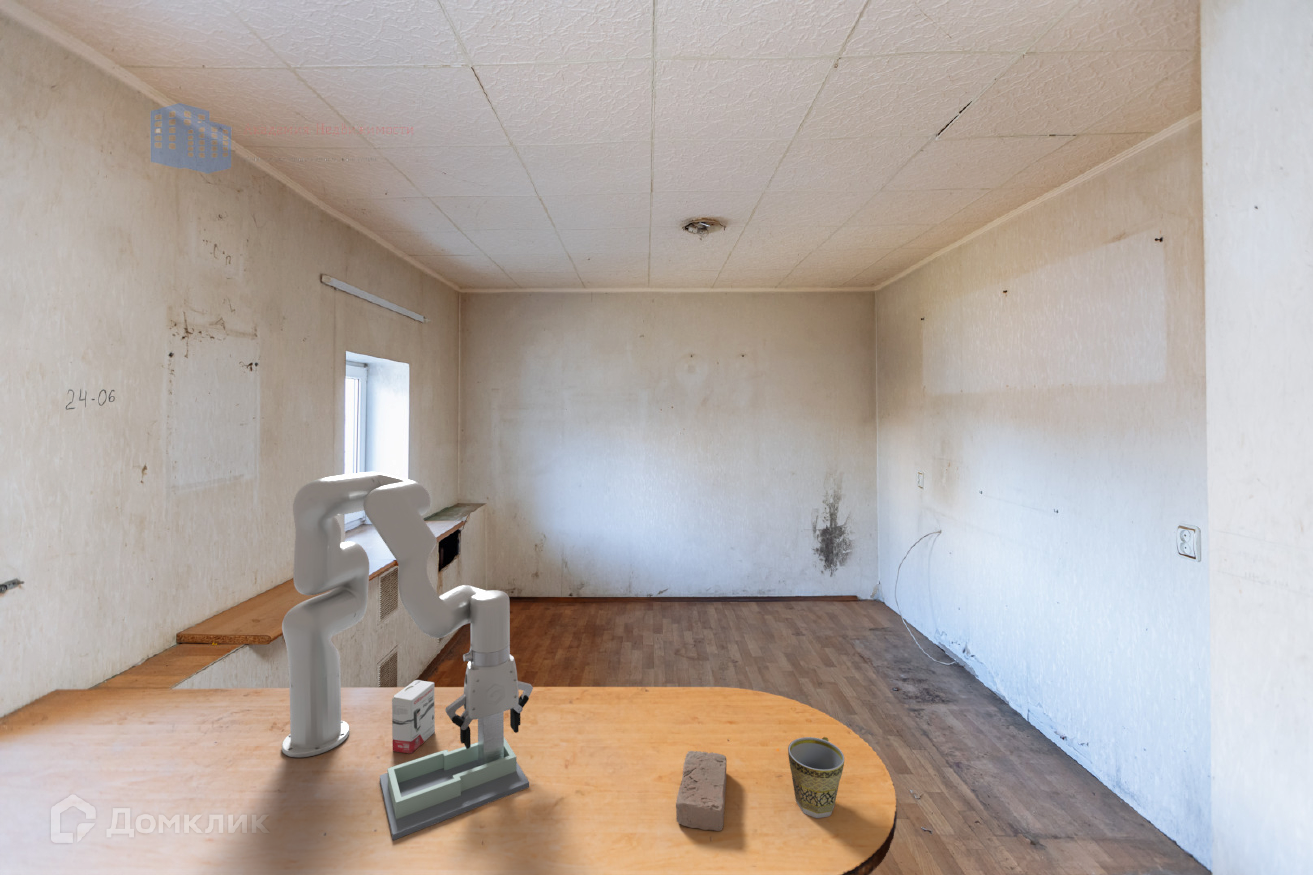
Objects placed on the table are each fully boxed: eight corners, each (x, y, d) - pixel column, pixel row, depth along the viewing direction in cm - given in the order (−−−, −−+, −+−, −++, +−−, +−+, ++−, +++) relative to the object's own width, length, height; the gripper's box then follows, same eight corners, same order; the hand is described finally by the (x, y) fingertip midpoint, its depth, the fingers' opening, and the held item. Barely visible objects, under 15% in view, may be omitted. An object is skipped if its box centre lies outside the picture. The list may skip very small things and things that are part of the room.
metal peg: (478, 763, 110) (477, 706, 110) (497, 756, 112) (497, 700, 112) (483, 774, 107) (483, 715, 106) (503, 767, 109) (503, 709, 108)
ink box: (411, 754, 114) (411, 700, 114) (391, 751, 115) (390, 697, 115) (436, 731, 123) (435, 680, 122) (417, 728, 124) (416, 678, 123)
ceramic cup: (835, 833, 93) (836, 777, 93) (779, 811, 99) (780, 757, 98) (852, 790, 104) (853, 739, 104) (801, 771, 110) (802, 723, 109)
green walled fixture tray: (379, 780, 106) (379, 760, 106) (500, 740, 120) (500, 722, 119) (392, 840, 91) (392, 817, 91) (529, 786, 105) (529, 766, 104)
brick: (686, 768, 111) (686, 746, 111) (727, 773, 109) (727, 750, 109) (675, 829, 95) (675, 803, 94) (723, 836, 93) (723, 809, 93)
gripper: (449, 672, 101) (450, 761, 101) (538, 650, 110) (538, 732, 111) (441, 657, 107) (442, 741, 108) (525, 638, 116) (525, 715, 117)
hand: (491, 736), depth 109 cm, fingers open, 9 cm apart
